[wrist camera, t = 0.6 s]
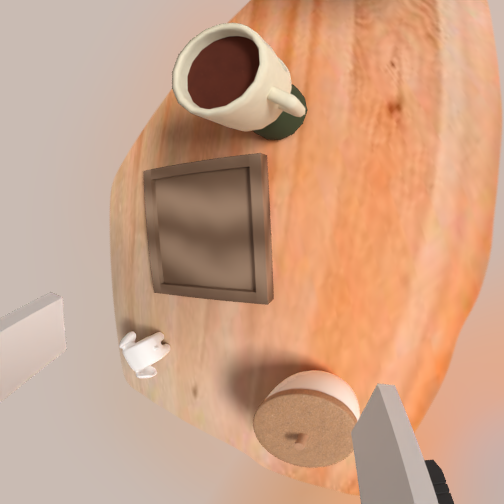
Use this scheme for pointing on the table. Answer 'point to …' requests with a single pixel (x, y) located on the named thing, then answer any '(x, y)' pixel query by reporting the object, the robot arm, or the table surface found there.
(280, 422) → the lidded jar
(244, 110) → the character mug
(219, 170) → the walnut tray
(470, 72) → the table surface
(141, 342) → the elephant figurine
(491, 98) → the table surface
